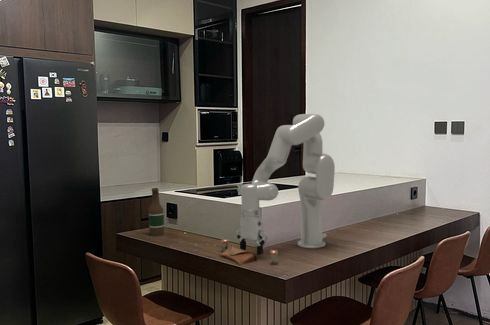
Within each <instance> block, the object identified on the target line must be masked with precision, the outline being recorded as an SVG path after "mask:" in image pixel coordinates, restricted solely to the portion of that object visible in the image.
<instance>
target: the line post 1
mask: <svg viewBox="0 0 490 325" xmlns="http://www.w3.org/2000/svg"><path fill="white" fill-rule="evenodd" d="M220 242H221V253H223V252H224V251H225V250H227V249H228V248H229V242H230V240H229V239H228V238H222V239H220Z"/></svg>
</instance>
